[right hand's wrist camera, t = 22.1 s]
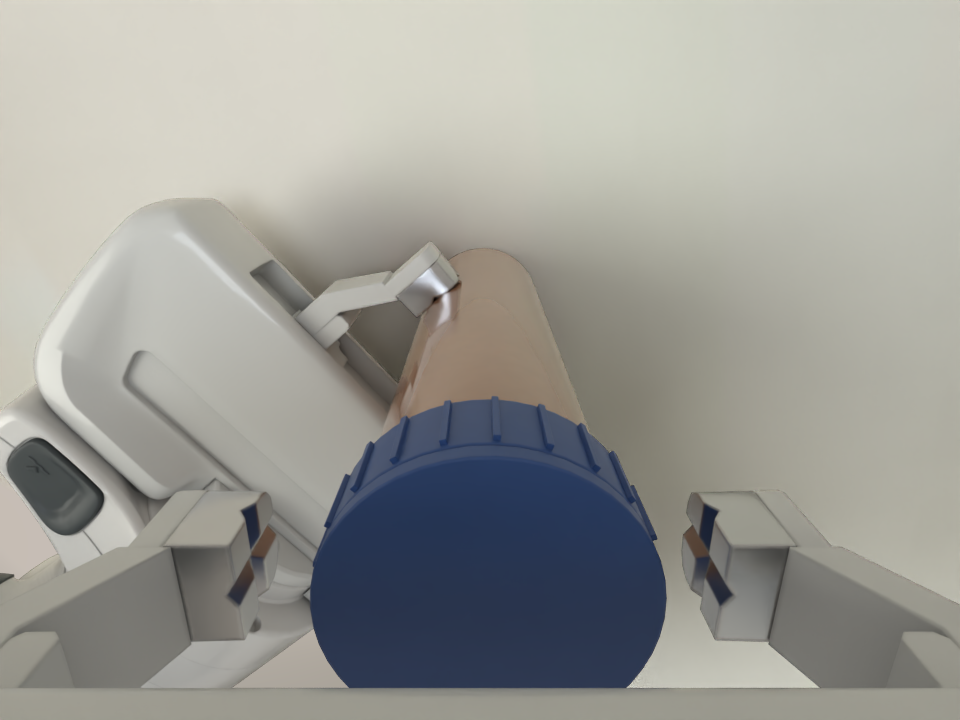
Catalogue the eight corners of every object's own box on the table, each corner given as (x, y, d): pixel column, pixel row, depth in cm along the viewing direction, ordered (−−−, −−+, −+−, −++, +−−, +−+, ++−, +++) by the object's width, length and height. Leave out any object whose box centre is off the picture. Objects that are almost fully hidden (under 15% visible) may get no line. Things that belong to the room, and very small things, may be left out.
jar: (413, 327, 26) (301, 635, 10) (455, 229, 24) (405, 400, 8) (508, 367, 27) (552, 719, 10) (554, 275, 25) (690, 516, 9)
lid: (640, 638, 11) (670, 732, 9) (361, 658, 11) (339, 755, 10) (638, 379, 9) (676, 435, 8) (307, 409, 10) (267, 471, 8)
